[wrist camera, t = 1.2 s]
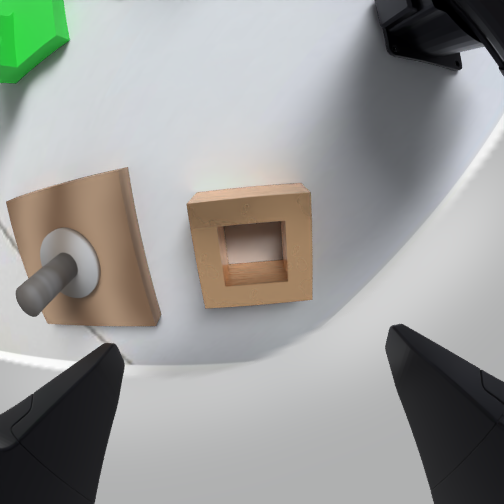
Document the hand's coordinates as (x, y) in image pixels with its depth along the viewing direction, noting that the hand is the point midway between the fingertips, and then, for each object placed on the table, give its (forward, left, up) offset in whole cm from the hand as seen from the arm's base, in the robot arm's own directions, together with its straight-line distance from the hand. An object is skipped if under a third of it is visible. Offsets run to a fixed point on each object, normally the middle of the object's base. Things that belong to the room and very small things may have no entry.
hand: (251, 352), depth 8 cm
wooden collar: (0, 0, -11) cm, 11 cm away
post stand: (+13, 0, -11) cm, 17 cm away
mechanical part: (+16, -21, -11) cm, 29 cm away
